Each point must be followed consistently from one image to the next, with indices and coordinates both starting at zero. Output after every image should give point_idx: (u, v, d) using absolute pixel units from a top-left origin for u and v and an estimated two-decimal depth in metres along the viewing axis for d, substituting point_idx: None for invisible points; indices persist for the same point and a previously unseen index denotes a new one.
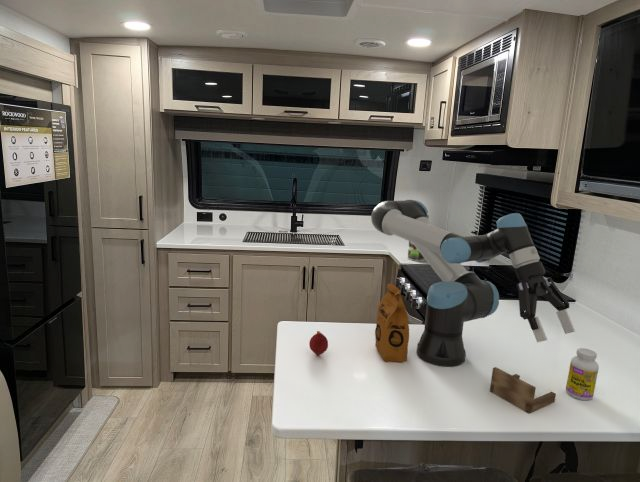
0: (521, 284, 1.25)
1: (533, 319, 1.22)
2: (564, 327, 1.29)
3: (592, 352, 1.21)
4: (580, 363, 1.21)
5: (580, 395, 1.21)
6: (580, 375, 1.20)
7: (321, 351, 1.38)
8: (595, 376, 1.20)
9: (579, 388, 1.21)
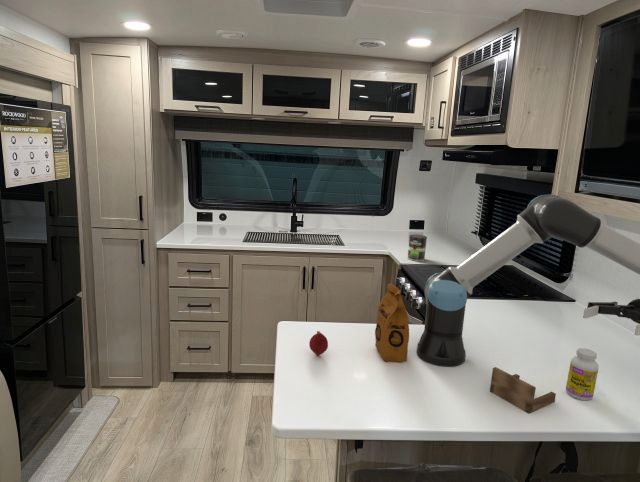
0: None
1: None
2: (590, 310, 1.31)
3: (592, 352, 1.21)
4: (580, 363, 1.21)
5: (580, 395, 1.21)
6: (580, 375, 1.20)
7: (321, 351, 1.38)
8: (595, 376, 1.20)
9: (579, 388, 1.21)
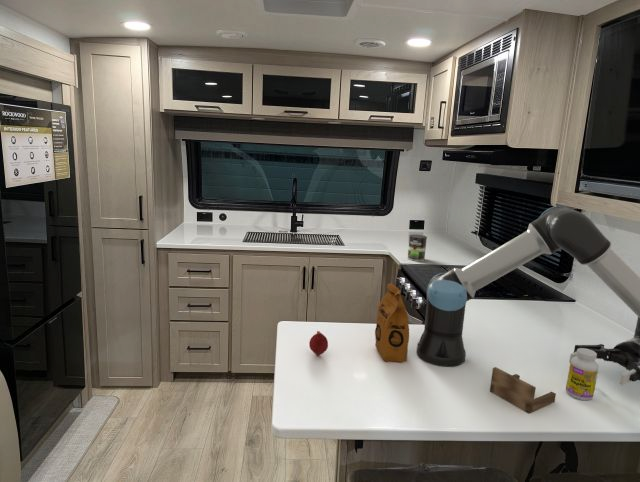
0: None
1: None
2: (576, 355, 1.31)
3: (592, 352, 1.21)
4: (580, 363, 1.21)
5: (580, 395, 1.21)
6: (580, 375, 1.20)
7: (321, 351, 1.38)
8: (595, 376, 1.20)
9: (579, 388, 1.21)
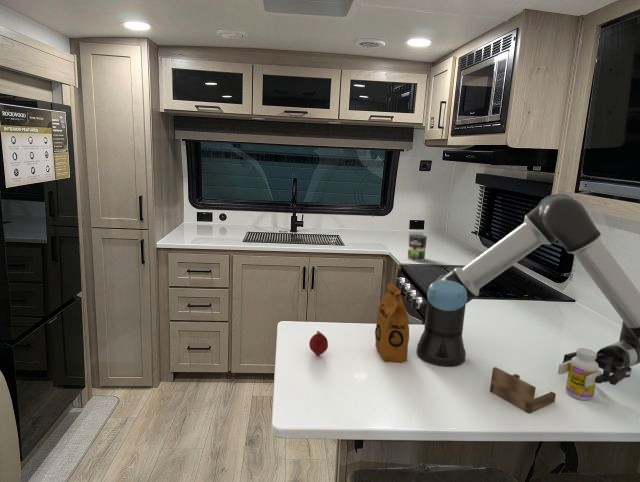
0: (629, 374, 1.23)
1: None
2: (565, 366, 1.24)
3: (592, 352, 1.21)
4: (580, 362, 1.21)
5: (580, 395, 1.21)
6: (580, 375, 1.20)
7: (321, 351, 1.38)
8: None
9: (579, 388, 1.21)
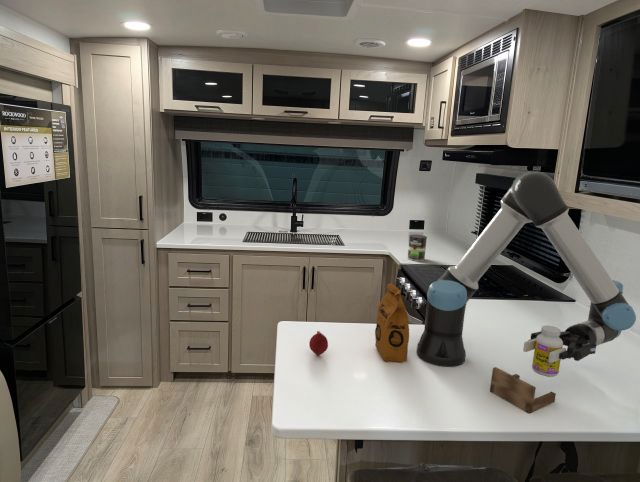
0: (594, 350, 1.24)
1: None
2: (530, 343, 1.25)
3: (556, 329, 1.22)
4: (544, 339, 1.22)
5: (545, 372, 1.22)
6: (545, 352, 1.21)
7: (321, 351, 1.38)
8: None
9: (544, 365, 1.22)
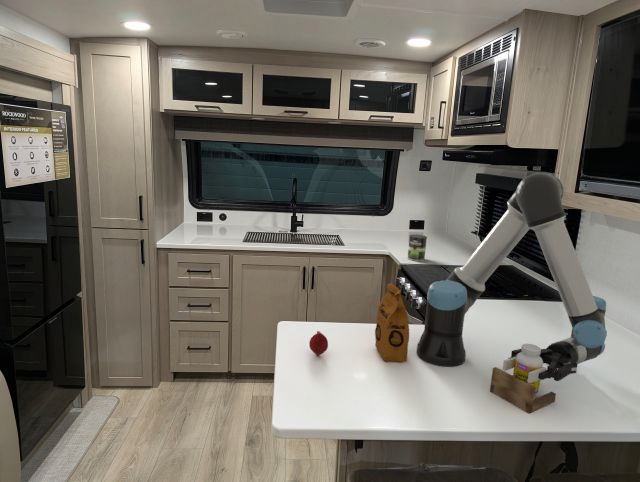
0: (575, 370, 1.21)
1: None
2: (510, 362, 1.21)
3: (536, 348, 1.19)
4: (524, 358, 1.18)
5: None
6: (524, 371, 1.18)
7: (321, 351, 1.38)
8: None
9: None
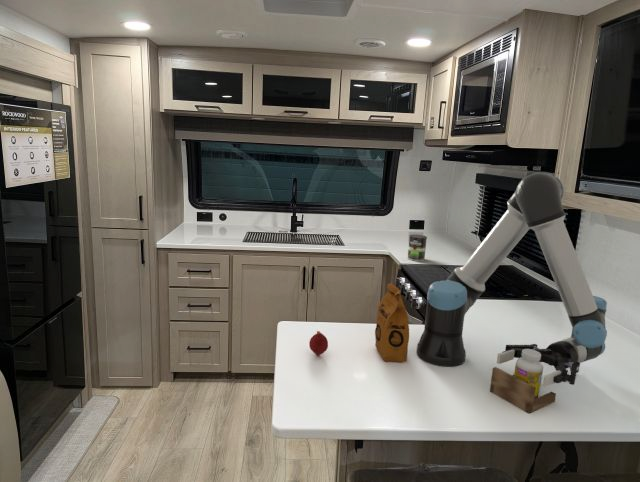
0: (578, 369, 1.22)
1: None
2: (503, 355, 1.25)
3: (537, 353, 1.19)
4: (524, 364, 1.19)
5: None
6: (524, 377, 1.18)
7: (321, 351, 1.38)
8: (539, 377, 1.18)
9: None
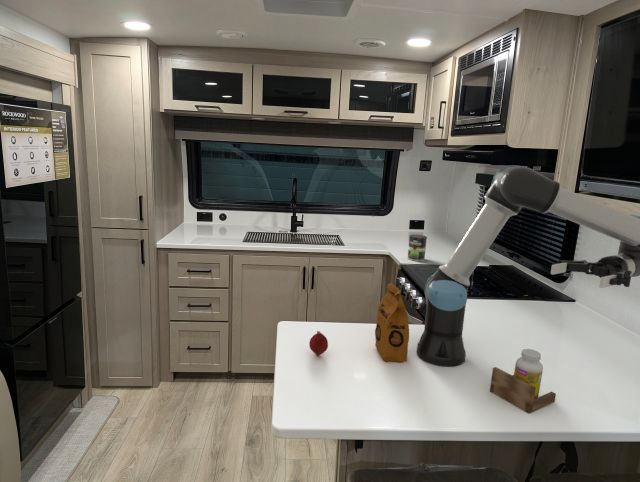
0: None
1: None
2: (557, 266, 1.30)
3: (536, 353, 1.19)
4: (524, 364, 1.19)
5: None
6: (524, 377, 1.18)
7: (321, 351, 1.38)
8: (539, 377, 1.18)
9: None
